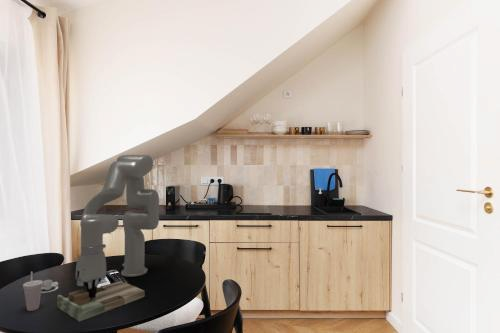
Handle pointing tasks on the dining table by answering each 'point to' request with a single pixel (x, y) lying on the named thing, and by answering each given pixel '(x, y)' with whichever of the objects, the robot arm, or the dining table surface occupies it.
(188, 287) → the dining table surface
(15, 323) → the dining table surface
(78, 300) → the walnut block
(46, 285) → the teacup and saucer
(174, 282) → the dining table surface
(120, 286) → the board
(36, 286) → the smoothie
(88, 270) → the robot arm
